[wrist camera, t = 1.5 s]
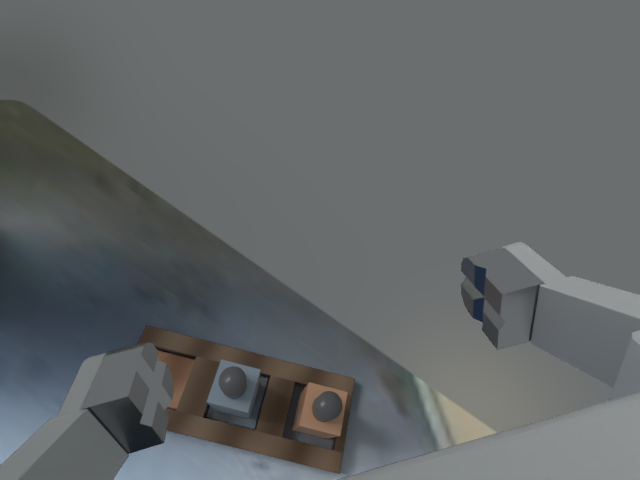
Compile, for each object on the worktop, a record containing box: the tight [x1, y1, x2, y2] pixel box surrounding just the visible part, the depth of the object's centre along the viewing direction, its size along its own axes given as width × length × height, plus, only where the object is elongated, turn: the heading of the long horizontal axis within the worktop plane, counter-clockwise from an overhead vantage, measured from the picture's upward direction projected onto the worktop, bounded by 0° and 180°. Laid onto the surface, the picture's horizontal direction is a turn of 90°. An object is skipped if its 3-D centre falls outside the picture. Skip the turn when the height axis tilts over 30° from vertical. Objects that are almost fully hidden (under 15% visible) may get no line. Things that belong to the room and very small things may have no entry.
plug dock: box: [137, 325, 355, 474], centre depth 43 cm, size 26×10×2 cm, turn 78°
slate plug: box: [207, 359, 260, 419], centre depth 38 cm, size 4×4×12 cm
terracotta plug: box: [292, 382, 348, 439], centre depth 39 cm, size 4×4×12 cm
